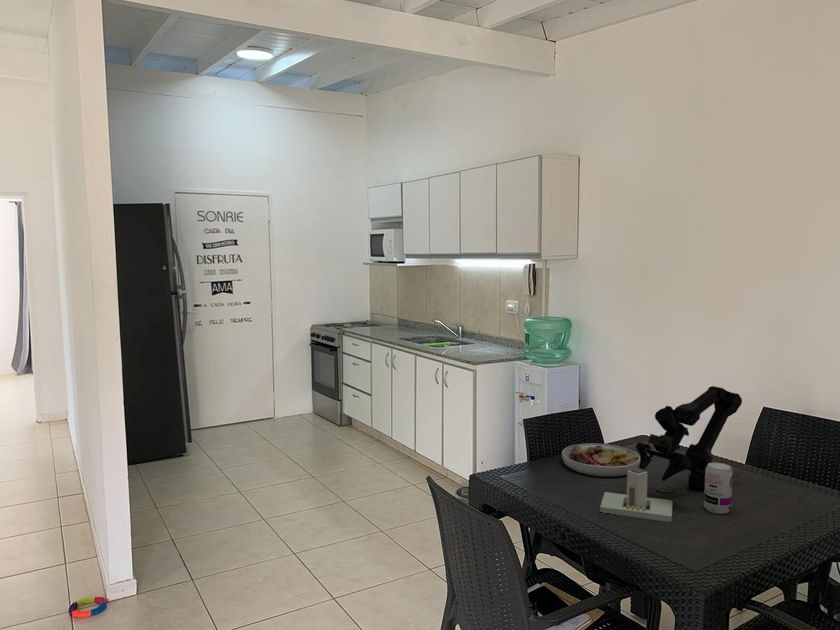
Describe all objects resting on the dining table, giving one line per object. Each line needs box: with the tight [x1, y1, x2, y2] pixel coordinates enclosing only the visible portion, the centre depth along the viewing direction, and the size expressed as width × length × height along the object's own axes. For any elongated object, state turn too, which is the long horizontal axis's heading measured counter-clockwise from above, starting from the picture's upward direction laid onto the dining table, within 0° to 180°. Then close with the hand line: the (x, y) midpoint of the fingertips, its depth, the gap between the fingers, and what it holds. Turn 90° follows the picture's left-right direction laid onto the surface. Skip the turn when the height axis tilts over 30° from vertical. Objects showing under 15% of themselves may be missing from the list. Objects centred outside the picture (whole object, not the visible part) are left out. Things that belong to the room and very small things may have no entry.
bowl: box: [561, 442, 640, 478], centre depth 268 cm, size 30×30×8 cm
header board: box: [599, 491, 673, 523], centre depth 225 cm, size 22×14×3 cm, turn 69°
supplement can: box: [703, 462, 734, 515], centre depth 223 cm, size 8×8×15 cm
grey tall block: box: [625, 467, 648, 510], centre depth 224 cm, size 5×4×14 cm
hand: (650, 476), depth 228 cm, fingers open, 9 cm apart
